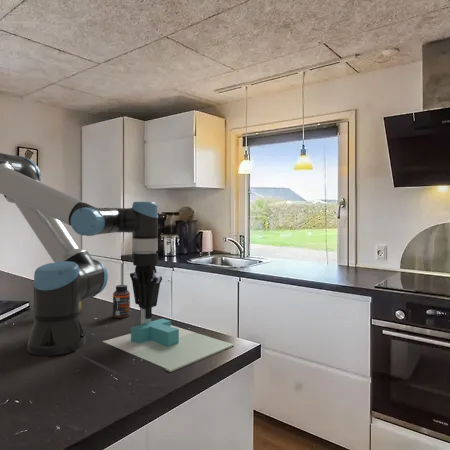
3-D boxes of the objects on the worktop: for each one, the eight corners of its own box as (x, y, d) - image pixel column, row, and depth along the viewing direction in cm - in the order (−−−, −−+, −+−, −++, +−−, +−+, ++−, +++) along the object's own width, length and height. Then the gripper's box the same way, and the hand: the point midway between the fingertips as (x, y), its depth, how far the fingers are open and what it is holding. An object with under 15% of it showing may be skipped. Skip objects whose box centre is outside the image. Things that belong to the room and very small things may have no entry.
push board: (170, 372, 93) (170, 370, 93) (102, 343, 112) (102, 341, 112) (233, 346, 111) (233, 344, 111) (165, 324, 131) (165, 323, 131)
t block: (157, 350, 106) (157, 335, 106) (130, 340, 113) (130, 327, 113) (188, 339, 115) (188, 326, 115) (162, 330, 123) (162, 318, 122)
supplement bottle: (119, 319, 136) (119, 288, 136) (109, 316, 140) (109, 285, 140) (133, 316, 141) (133, 285, 141) (122, 313, 145) (122, 283, 144)
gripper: (169, 252, 116) (169, 329, 117) (142, 249, 125) (142, 321, 126) (149, 254, 111) (149, 336, 111) (122, 251, 119) (123, 327, 120)
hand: (145, 328), depth 119 cm, fingers closed
